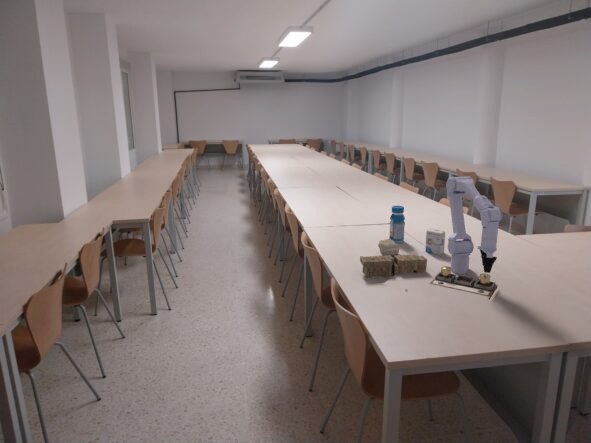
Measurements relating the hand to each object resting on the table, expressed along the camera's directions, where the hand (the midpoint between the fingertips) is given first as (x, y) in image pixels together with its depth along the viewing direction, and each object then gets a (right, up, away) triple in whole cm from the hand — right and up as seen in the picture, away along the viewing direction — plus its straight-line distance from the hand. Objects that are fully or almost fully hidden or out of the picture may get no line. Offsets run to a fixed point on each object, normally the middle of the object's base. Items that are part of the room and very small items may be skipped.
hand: (486, 269), depth 173 cm
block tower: (-33, -5, +22) cm, 40 cm away
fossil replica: (-29, +2, +47) cm, 56 cm away
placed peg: (-13, -5, +11) cm, 18 cm away
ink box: (-5, +3, +50) cm, 50 cm away
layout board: (-7, -8, +5) cm, 12 cm away
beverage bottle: (-20, +8, +71) cm, 75 cm away
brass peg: (0, -8, +2) cm, 8 cm away
